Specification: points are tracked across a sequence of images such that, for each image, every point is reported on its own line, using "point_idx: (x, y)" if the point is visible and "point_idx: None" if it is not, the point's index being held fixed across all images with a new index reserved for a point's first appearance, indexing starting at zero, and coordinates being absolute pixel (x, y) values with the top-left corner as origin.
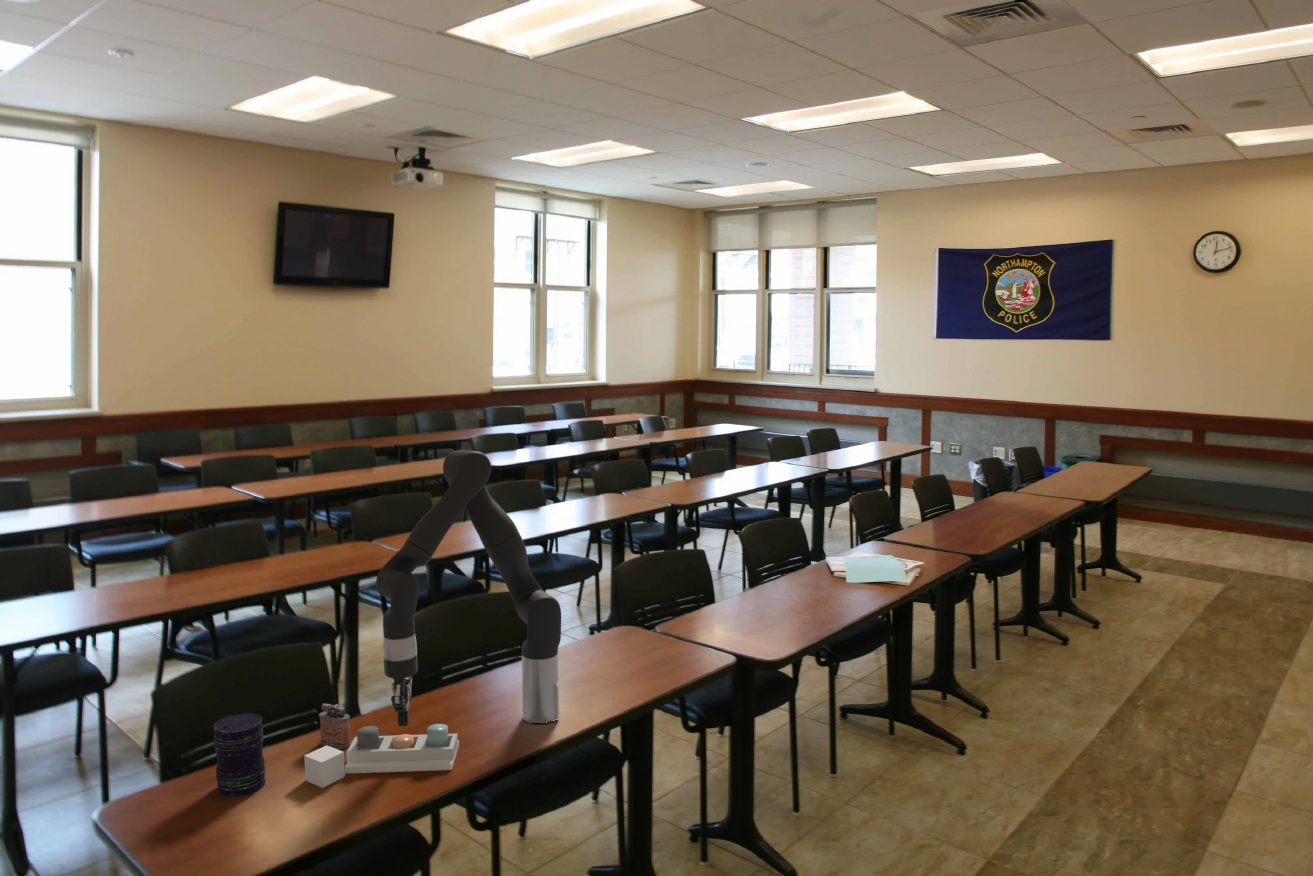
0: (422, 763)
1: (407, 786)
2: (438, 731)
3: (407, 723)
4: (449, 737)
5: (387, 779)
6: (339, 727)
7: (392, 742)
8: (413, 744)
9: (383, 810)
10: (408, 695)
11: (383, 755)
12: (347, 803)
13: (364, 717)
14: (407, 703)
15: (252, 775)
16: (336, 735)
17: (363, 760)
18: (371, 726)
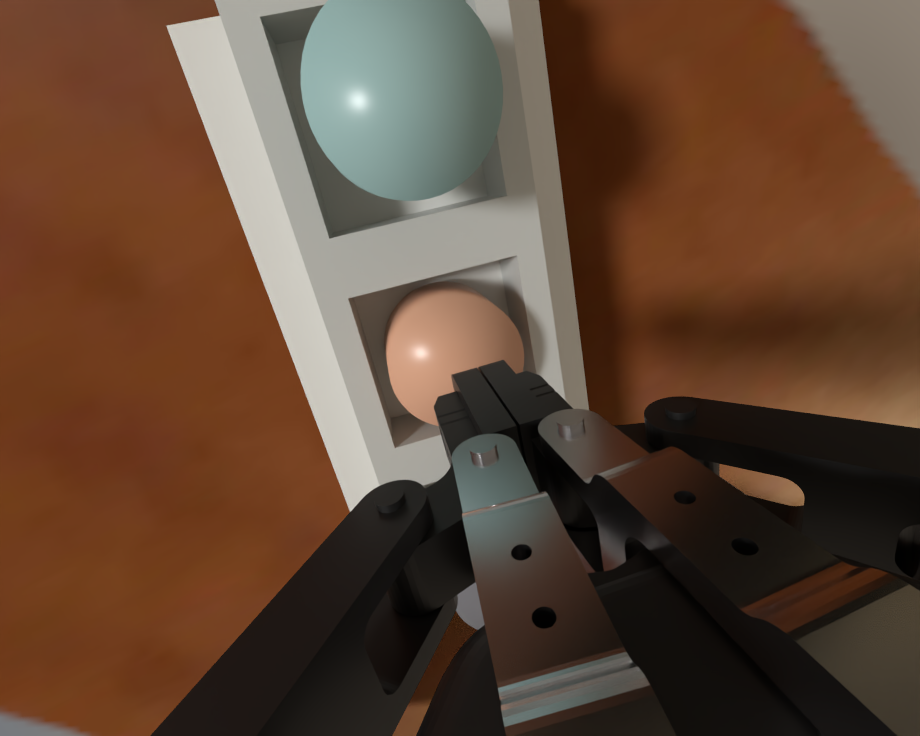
0: (545, 173)
1: (693, 185)
2: (472, 54)
3: (507, 364)
4: (273, 52)
5: (630, 312)
6: None
7: (405, 432)
8: (440, 290)
9: (874, 206)
10: (734, 504)
11: None
12: (803, 374)
13: (44, 718)
14: (578, 458)
15: None
16: None
17: None
18: (460, 595)
